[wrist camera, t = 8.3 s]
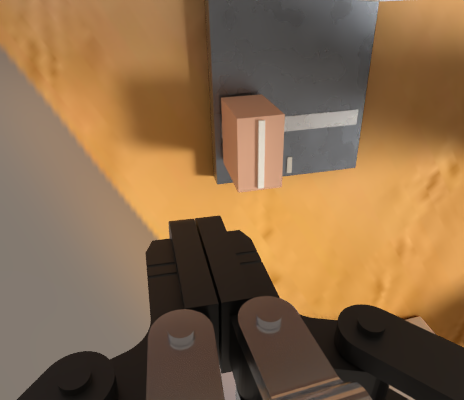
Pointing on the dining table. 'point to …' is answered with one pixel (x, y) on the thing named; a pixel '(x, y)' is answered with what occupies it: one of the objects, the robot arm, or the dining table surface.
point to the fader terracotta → (252, 142)
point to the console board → (294, 73)
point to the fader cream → (381, 0)
